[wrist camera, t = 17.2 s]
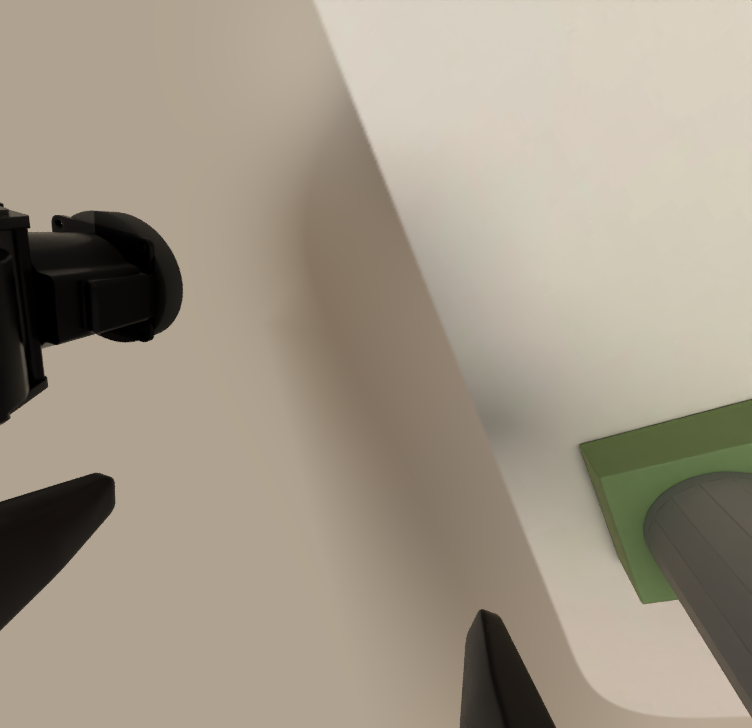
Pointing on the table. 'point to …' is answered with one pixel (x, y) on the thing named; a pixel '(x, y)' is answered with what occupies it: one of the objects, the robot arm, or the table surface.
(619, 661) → the table surface
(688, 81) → the table surface
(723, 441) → the green block
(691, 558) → the flask
